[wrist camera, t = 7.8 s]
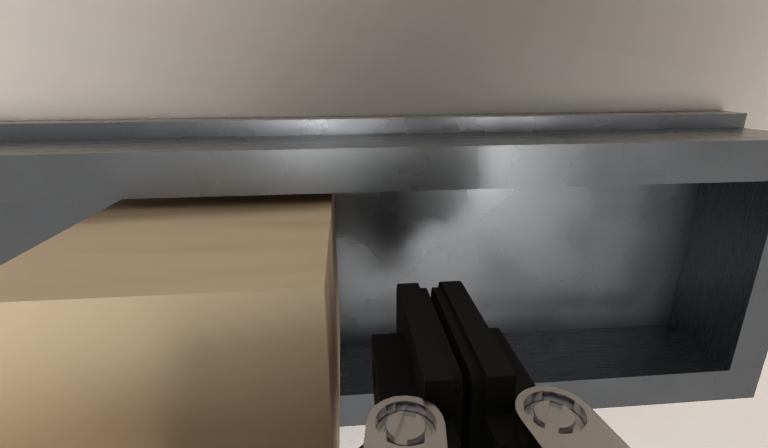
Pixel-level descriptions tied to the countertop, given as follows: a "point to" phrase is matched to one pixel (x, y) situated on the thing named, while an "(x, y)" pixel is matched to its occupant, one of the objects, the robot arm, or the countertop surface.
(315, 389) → the block
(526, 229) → the chute
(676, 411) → the countertop surface
